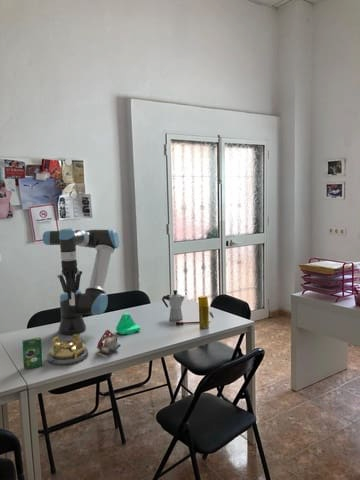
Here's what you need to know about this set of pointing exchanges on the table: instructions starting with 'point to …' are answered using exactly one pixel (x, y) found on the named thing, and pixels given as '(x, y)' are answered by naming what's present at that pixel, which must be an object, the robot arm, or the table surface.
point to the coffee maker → (174, 305)
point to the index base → (68, 361)
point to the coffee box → (32, 353)
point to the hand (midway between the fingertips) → (72, 304)
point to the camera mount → (127, 325)
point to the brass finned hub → (67, 348)
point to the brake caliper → (108, 343)
